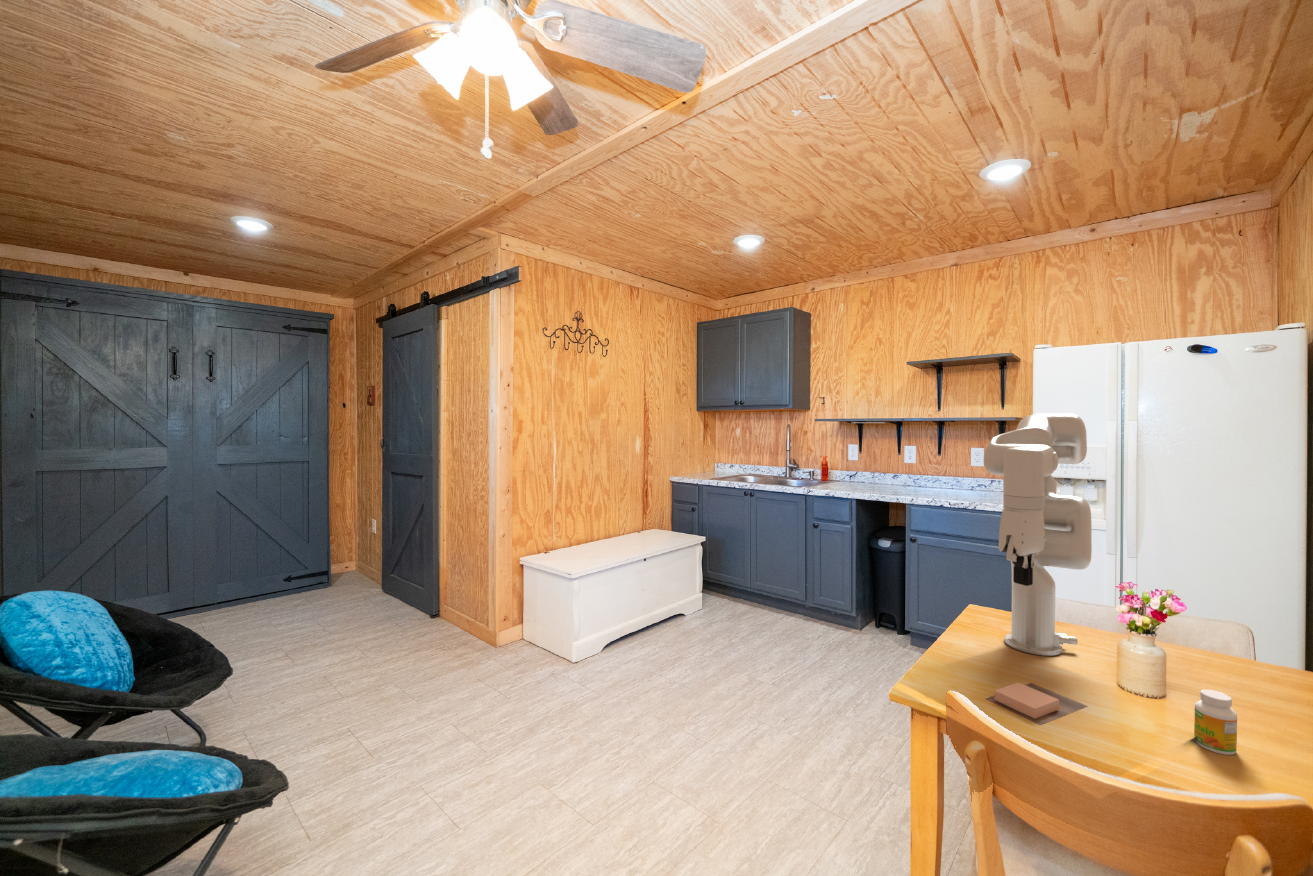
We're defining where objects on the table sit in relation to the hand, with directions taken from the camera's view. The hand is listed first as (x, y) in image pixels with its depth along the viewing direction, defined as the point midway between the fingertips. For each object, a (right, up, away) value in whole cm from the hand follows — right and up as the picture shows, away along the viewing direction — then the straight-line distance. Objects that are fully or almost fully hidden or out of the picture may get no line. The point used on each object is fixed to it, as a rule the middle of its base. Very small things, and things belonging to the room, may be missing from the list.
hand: (1023, 583), depth 120 cm
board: (-3, -24, -8) cm, 25 cm away
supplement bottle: (+20, -24, -22) cm, 38 cm away
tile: (-2, -21, -8) cm, 23 cm away
